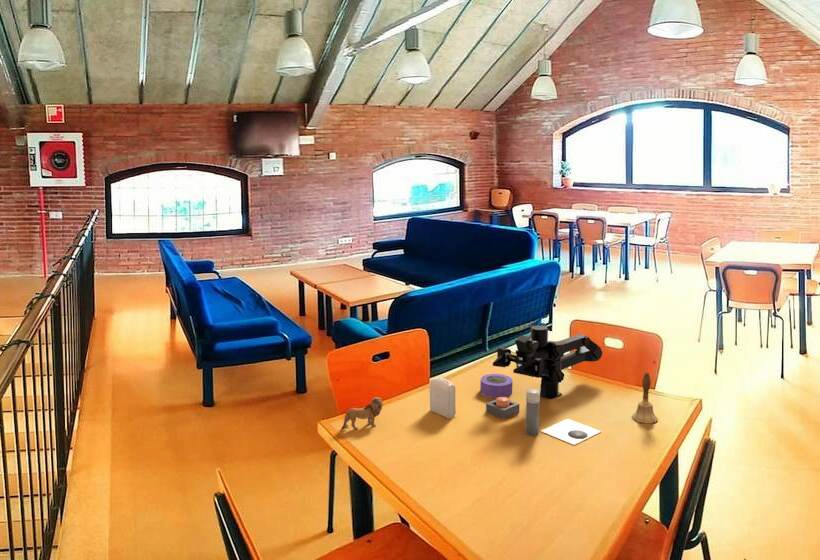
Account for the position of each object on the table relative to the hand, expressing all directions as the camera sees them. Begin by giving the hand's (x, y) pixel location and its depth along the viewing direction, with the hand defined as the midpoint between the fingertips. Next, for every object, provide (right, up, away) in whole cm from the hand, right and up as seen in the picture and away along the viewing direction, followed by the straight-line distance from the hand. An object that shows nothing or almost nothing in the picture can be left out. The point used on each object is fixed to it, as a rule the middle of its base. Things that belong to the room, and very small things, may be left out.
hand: (503, 367), depth 224 cm
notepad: (+20, -19, -11) cm, 30 cm away
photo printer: (-20, -16, +5) cm, 26 cm away
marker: (+8, -19, -11) cm, 24 cm away
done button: (+1, -16, +5) cm, 17 cm away
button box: (+1, -16, +5) cm, 17 cm away
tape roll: (+1, -12, +23) cm, 26 cm away
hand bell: (+47, -17, -1) cm, 50 cm away
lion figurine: (-47, -19, -4) cm, 50 cm away
